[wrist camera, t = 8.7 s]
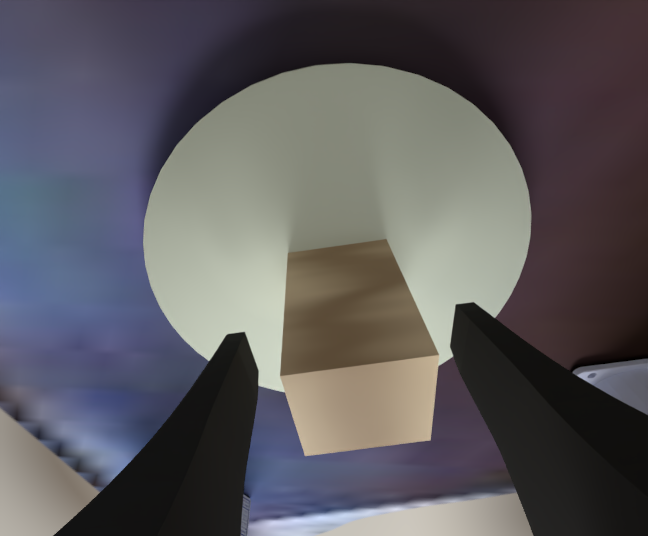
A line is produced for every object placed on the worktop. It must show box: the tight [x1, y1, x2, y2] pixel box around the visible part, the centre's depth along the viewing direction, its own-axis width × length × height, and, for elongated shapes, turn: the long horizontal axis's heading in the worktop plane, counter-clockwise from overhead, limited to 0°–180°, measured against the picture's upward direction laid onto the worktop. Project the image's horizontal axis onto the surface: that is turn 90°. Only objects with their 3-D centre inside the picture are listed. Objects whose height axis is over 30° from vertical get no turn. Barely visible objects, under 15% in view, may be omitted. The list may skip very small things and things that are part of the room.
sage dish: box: [143, 63, 531, 392], centre depth 15 cm, size 16×16×2 cm
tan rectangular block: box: [280, 239, 439, 456], centre depth 12 cm, size 4×4×6 cm
